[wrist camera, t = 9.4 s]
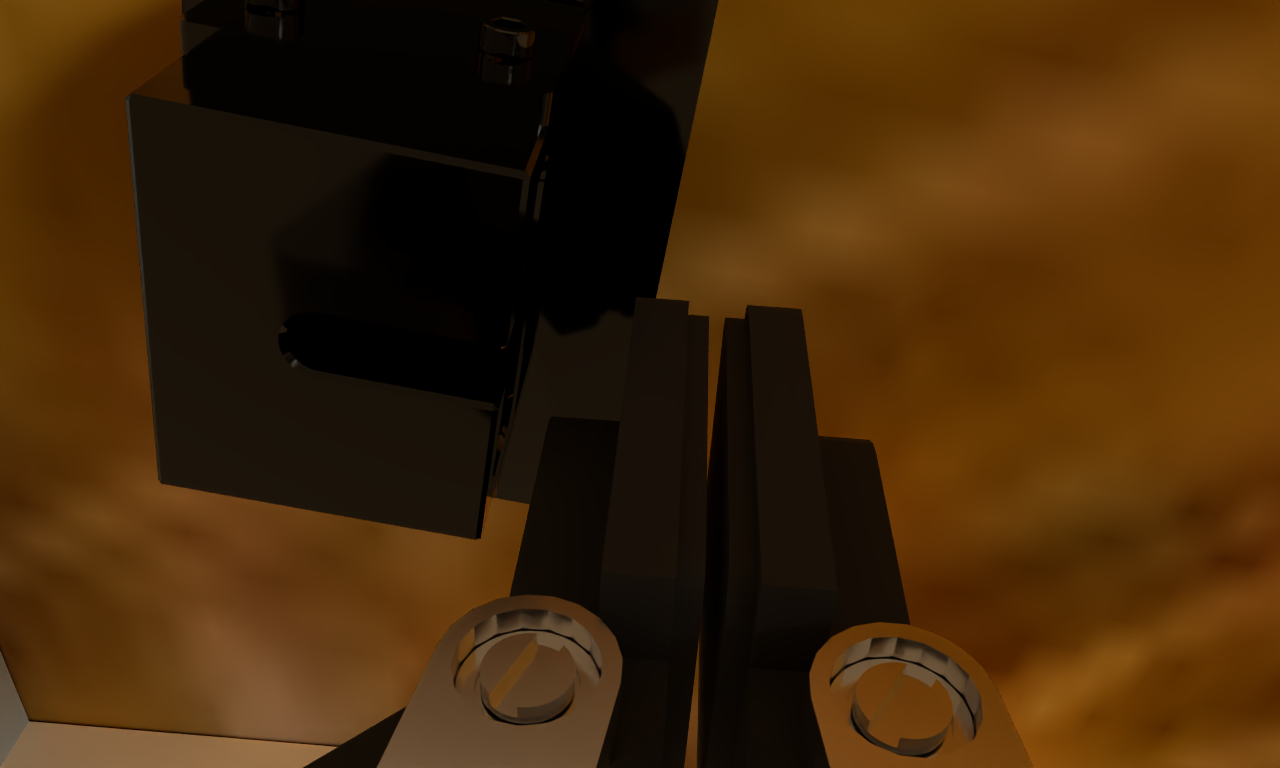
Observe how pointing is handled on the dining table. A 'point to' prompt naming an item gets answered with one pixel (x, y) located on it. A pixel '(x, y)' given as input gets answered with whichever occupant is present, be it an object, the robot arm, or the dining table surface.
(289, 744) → the u-shaped wooden bracket
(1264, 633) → the dining table surface
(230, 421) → the black boxy piece
